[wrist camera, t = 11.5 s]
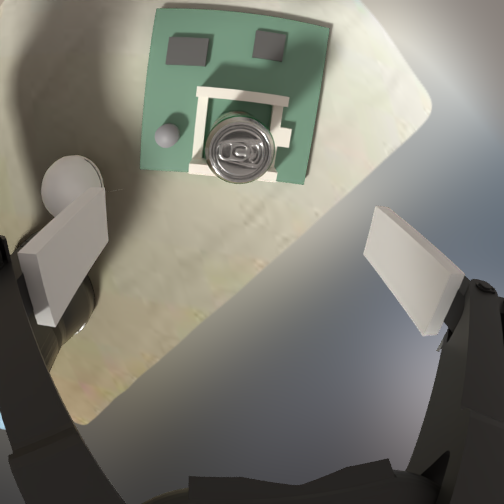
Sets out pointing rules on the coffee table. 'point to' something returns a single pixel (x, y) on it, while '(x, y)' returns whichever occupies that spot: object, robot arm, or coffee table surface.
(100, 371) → the coffee table surface
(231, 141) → the soda can
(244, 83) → the board
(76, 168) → the seamed sphere
